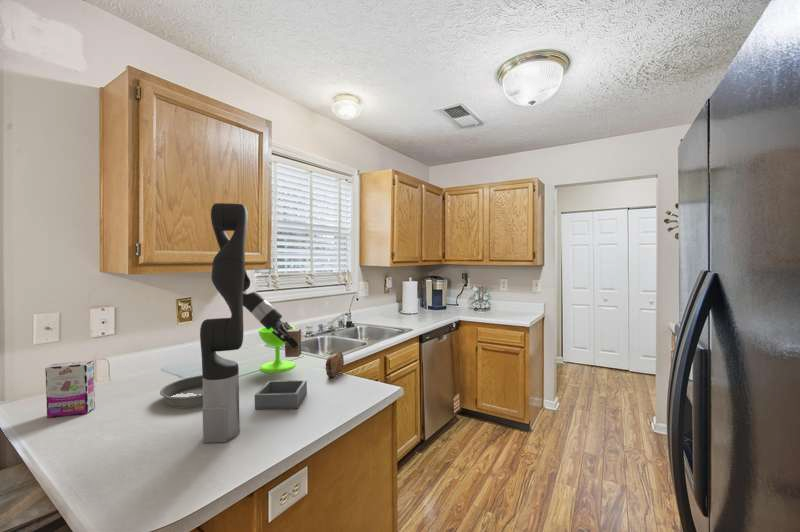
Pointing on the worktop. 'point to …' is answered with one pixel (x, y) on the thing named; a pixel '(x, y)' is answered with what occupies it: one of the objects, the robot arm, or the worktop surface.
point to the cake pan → (184, 392)
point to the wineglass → (277, 364)
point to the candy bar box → (70, 389)
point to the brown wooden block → (288, 348)
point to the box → (281, 395)
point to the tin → (334, 364)
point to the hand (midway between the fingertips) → (297, 344)
